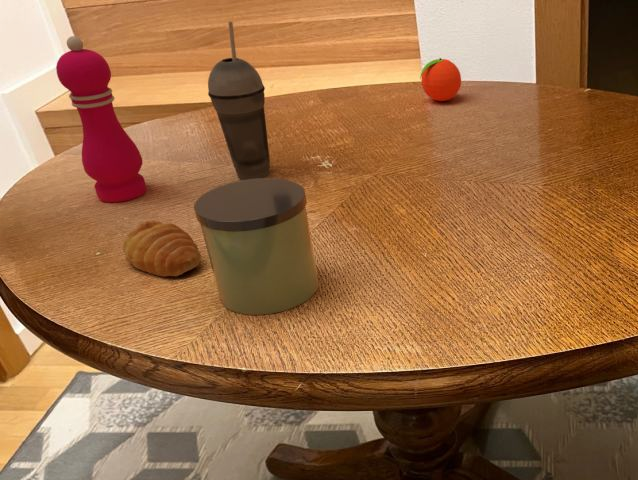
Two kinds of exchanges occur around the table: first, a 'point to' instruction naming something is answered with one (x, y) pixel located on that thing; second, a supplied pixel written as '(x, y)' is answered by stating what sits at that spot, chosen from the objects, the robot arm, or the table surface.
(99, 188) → the pepper mill
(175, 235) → the pastry
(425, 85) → the clementine
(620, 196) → the table surface
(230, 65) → the beverage cup
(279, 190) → the jar
